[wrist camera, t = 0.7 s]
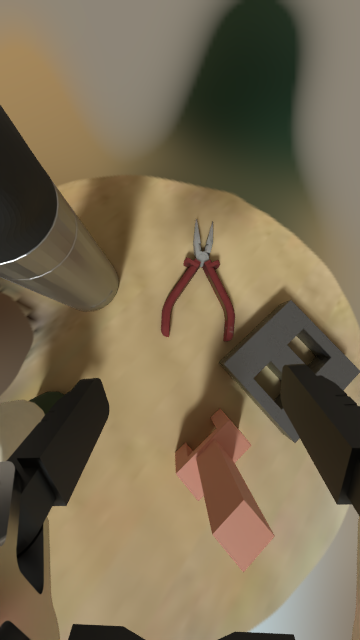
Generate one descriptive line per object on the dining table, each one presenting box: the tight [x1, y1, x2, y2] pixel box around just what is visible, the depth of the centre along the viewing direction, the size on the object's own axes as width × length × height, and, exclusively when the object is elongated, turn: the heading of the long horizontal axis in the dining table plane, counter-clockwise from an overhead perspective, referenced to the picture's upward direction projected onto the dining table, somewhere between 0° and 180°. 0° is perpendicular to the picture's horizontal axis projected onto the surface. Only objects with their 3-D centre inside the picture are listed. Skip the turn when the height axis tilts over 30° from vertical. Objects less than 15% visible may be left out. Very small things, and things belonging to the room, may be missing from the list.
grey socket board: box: [219, 300, 360, 443], centre depth 30 cm, size 14×14×3 cm
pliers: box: [161, 219, 235, 341], centre depth 32 cm, size 12×20×3 cm, turn 176°
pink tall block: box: [175, 409, 274, 572], centre depth 22 cm, size 4×9×15 cm, turn 132°
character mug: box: [0, 392, 64, 462], centre depth 22 cm, size 11×7×13 cm, turn 63°
